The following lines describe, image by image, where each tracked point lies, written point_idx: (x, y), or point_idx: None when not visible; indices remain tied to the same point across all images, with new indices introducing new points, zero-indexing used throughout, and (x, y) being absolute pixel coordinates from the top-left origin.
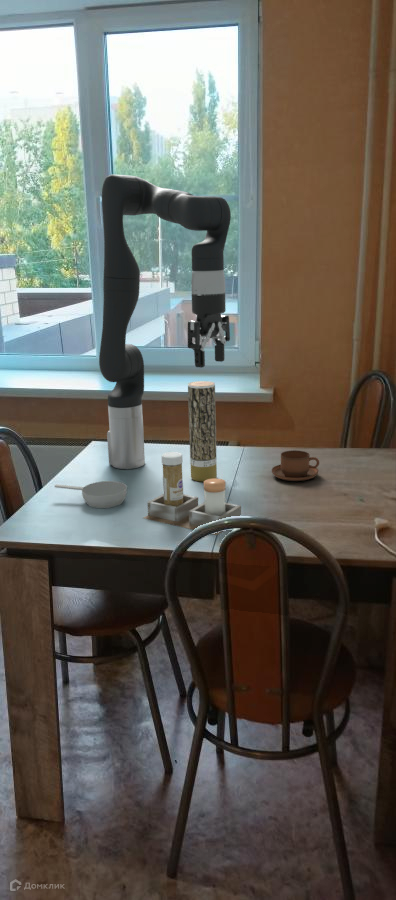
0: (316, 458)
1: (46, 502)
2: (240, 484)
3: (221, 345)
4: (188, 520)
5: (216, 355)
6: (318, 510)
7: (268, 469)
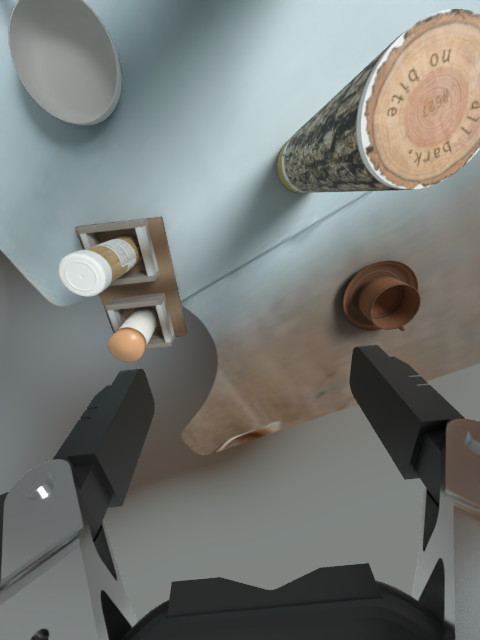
0: (403, 330)
1: None
2: (303, 245)
3: (415, 469)
4: (121, 289)
5: (370, 375)
6: (267, 375)
7: (395, 239)
